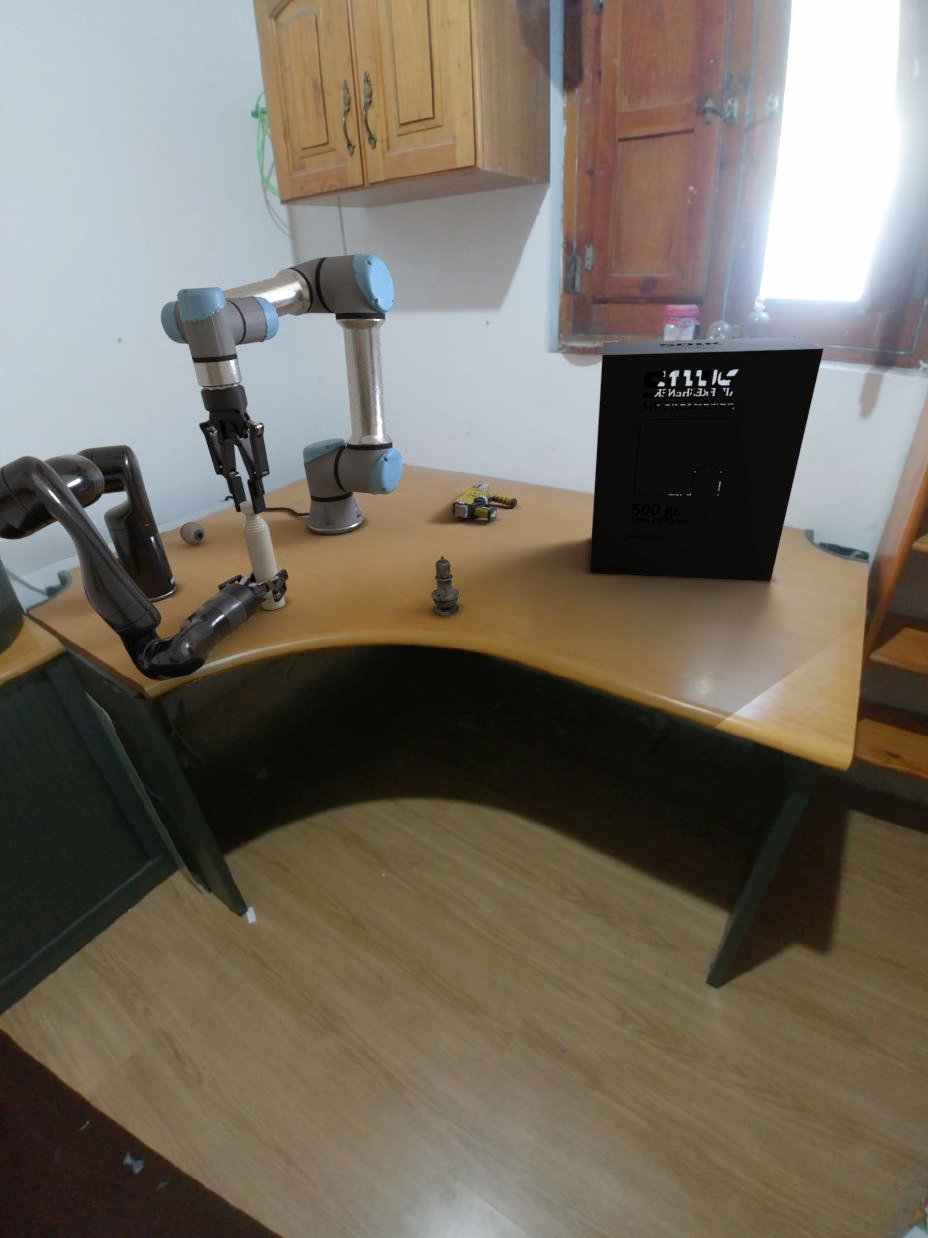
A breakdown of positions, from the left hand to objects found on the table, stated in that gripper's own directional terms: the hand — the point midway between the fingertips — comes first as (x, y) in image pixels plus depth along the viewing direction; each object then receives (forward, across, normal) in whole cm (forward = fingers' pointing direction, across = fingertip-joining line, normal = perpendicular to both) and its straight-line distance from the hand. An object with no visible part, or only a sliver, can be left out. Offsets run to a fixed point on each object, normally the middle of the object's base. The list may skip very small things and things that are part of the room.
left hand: (273, 572), depth 129 cm
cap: (-3, 0, -16) cm, 16 cm away
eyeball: (+25, +40, +6) cm, 47 cm away
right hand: (-3, 0, -15) cm, 15 cm away
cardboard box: (+34, -83, +6) cm, 90 cm away
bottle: (-3, 0, +6) cm, 7 cm away
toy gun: (+61, -33, +6) cm, 70 cm away
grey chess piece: (+1, -38, +6) cm, 38 cm away
